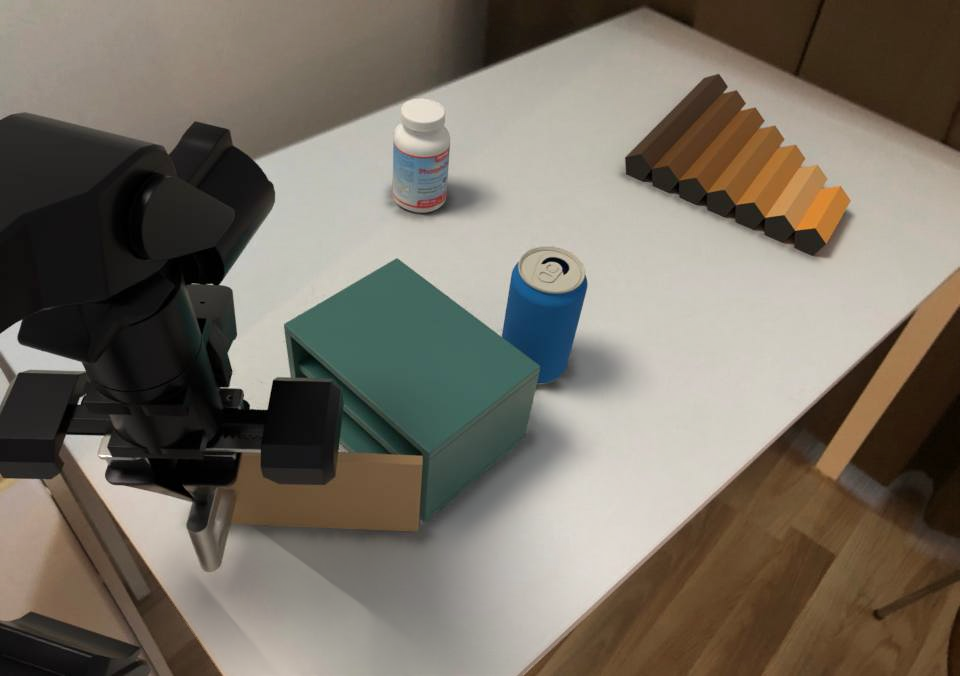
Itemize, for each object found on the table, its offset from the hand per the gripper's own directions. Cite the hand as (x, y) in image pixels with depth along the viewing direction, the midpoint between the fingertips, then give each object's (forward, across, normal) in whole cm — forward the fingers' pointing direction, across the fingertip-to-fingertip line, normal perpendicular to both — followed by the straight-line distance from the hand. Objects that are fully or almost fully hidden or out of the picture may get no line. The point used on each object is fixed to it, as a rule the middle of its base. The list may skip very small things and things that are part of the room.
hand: (203, 496), depth 52 cm
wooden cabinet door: (+9, -6, 0) cm, 11 cm away
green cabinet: (+10, -13, -13) cm, 21 cm away
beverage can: (+11, -24, -20) cm, 33 cm away
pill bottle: (+12, -13, -44) cm, 48 cm away
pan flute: (+13, -55, -55) cm, 79 cm away
